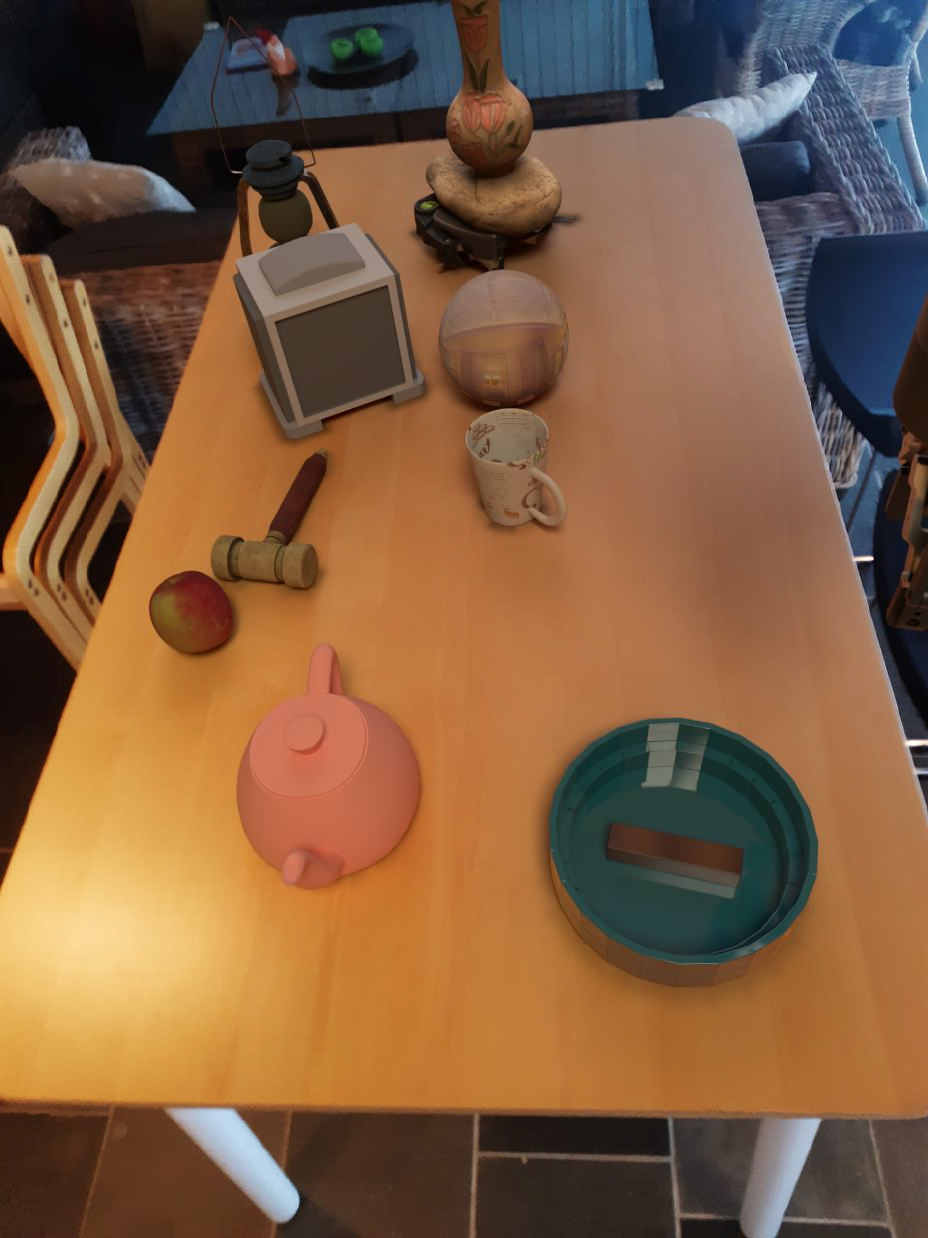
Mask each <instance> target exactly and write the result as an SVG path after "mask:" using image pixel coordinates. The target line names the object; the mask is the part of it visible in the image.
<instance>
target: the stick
mask: <svg viewBox="0 0 928 1238" xmlns="http://www.w3.org/2000/svg"><path fill="white" fill-rule="evenodd" d="M743 855H744V849H742V848H737V847H732V846H727V845H722V844H717V843H713V842H708V841H703V840H698V839H693V838H688V837H683V836H678V835H673V834H669V833H664V832H659V831H654V830H649V829H644V828H639V827H634V826H629V825H624V824H620V823H615V822H612V823H611V829H610V834H609V839H608V845H607V857H606V859H607V860H611V861H616V862H621V863H625V864H630V865H635V866H639V867H644V868H649V869H653V870H658V871H663V872H667V873H672V874H677V875H681V876H686V877H690V878H695V879H700V880H704V881H709V882H714V883H718V884H723V885H728V886H732V887H737V886H738V884H739V881H740V878H741V876H742V866H743Z"/></svg>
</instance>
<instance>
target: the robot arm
mask: <svg viewBox="0 0 928 1238" xmlns="http://www.w3.org/2000/svg"><path fill="white" fill-rule="evenodd" d="M892 406H893V410H894V413H895V416H896V418H897V419H898V421H899V422H900V424H901V426H900V432H901V438H902V442H901V443H902V445H901V450H899V452H898V456H897V460H899V461H898V466H899V469H898V472H897V475H896V477H895V480H894V483H893V485H892V488H891V490H890V493H889V495H888V498H887V500H886V503H885V508H884V512H885V517H886V519H888V520H889V521H890V520H891V521H899V522H903V526H902V530H901V536H902V539H903V540H905V542H907V543H908V549H907V553H906V558H905V562H904V563H905V564H904V567H903V570H902V572H901V574H900V580H899V583H897V587H896V589H895V592H894V593H893V596H892V597H891V600H890V603H889V605H888V607H887V609H886V611H885V613H886V624H887V625H888V626H890V627H892V628H898V629H904V630H912V631H919V632H923V631H925V630H927V629H928V528H923V527H922V526H921V522H922V521H923V520H924V519H925V517H926V516H927V517H928V290H927V292H926V294H925V298H924V301H923V304H922V306H921V308H920V311H919V315H918V317H917V322H916V323H915V326H914V331H913V332H912V335H911V339H910V341H909V344H908V347H907V350H906V353H905V355H904V359H903V362H902V365H901V367H900V370H899V373H898V375H897V378H896V382H895V385H894V387H893V391H892Z"/></svg>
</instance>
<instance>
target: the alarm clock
mask: <svg viewBox="0 0 928 1238" xmlns="http://www.w3.org/2000/svg"><path fill="white" fill-rule="evenodd" d="M308 235H309V236H305V237H301V238H298V239H295V240H293V241H290V242H288V243H285V244H283V245H281V246H278V247H274V248H271V249H269V248H268V249H266V250H262V251H259V252H255V253H253V254H252V255H249V256H246V257H243V256H242V257H240V258H237V259H234V260H233V262H234V264H235V267H236V270H237V273H234V274H233V275H232V281H233V283H234V286H235V289H236V292H237V295H238V298H239V301H240V305H241V307H242V310H243V313H244V316H245V319H246V323H247V325H248V329H249V332H250V334H251V337H252V340H253V343H254V346H255V350H256V352H257V355H258V358H259V361H260V364H261V367H262V369H263V371H262V372H260V373H259V376H258V379H259V381H260V385H261V387H262V390H263V392H264V394H265V396H266V398H267V400H268V402H269V404H270V407H271V409H272V411H273V413H274V415H275V417H276V420H277V421H278V424H279V425H280V428H281V430H282V432H283V434H284V436H285V438H287V439H289V440H299V439H302V438H304V437H307V436H310V435H313V434H315V433H318V432H321V431H324V427H323V424H322V420H323V419H326V418H329V417H331V416H334V415H337V414H340V413H342V412H345V411H349V410H351V409H354V408H356V407H361V406H363V405H366V404H368V403H371V402H374V401H377V400H380V399H383V398H385V397H388V396H389V397H390V398H391V401H392V402H393V403H394V405H398V404H400V403H403V402H406V401H409V400H412V399H415V398H417V397H421V396H423V394H425V392H426V387H427V386H426V381H425V376H424V375H423V373H422V372H421V371H420V369H419V367H418V366H417V365H416V361H415V355H414V349H413V344H412V339H411V332H410V326H409V320H408V316H407V309H406V303H405V298H404V292H403V286H402V281H401V274H400V272H399V271H398V270H397V268H396V267H395V266H394V264H393V263H392V262H391V261H390V259H389V258H388V256H387V255H386V254H385V253H384V251H383V250H382V248H381V247H380V246H379V245H378V243H377V242H376V240H375V239H374V238H373V236H372V235H371V234H370V233H367V232H365V233H364V232H363V230H362V229H361V227H360V226H359V225H358V223H356V221H355V222H354V221H353V222H352V223H348V224H345V225H341V226H340V227H338V228H335V229H332V230H330V229H329V230H326V231H322V232H319V233H316V234H308Z"/></svg>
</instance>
